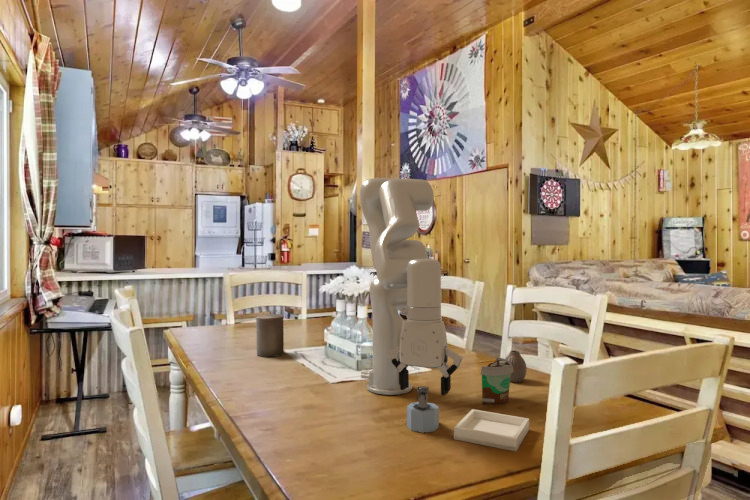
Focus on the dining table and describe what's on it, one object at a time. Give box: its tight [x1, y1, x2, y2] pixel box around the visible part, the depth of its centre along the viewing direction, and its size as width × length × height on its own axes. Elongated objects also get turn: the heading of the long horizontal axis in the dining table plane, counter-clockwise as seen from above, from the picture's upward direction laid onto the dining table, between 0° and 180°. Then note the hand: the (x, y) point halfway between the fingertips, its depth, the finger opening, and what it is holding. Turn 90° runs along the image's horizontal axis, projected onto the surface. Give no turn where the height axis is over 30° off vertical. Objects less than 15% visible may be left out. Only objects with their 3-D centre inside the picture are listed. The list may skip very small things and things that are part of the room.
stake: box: [416, 385, 430, 410], centre depth 116 cm, size 3×3×9 cm
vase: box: [505, 350, 528, 383], centre depth 153 cm, size 7×7×9 cm
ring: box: [406, 401, 440, 434], centre depth 116 cm, size 7×8×4 cm
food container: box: [480, 356, 513, 406], centre depth 134 cm, size 12×6×10 cm, turn 148°
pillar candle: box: [255, 313, 285, 358], centre depth 185 cm, size 10×10×15 cm
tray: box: [453, 408, 530, 452], centre depth 111 cm, size 13×13×2 cm
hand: (424, 391), depth 115 cm, fingers open, 9 cm apart
